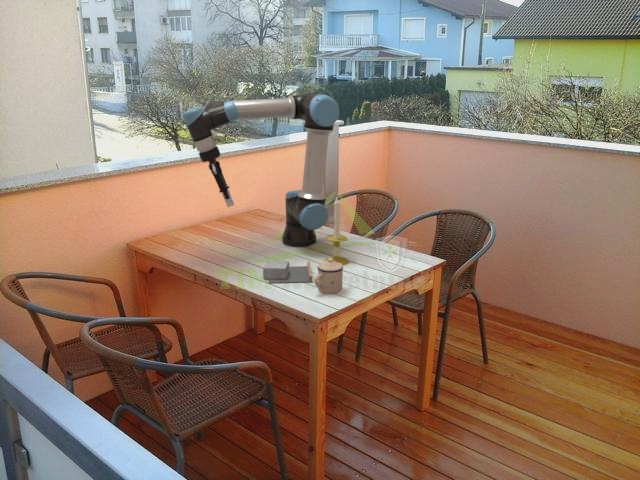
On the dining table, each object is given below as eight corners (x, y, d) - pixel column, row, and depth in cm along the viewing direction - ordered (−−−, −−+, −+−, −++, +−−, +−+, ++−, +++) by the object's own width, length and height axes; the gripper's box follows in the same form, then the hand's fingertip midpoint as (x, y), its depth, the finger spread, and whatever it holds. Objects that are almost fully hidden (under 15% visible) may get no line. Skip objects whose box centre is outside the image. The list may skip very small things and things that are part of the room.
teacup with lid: (329, 282, 217) (330, 252, 214) (348, 289, 211) (348, 258, 207) (306, 291, 209) (306, 260, 205) (324, 299, 203) (324, 267, 199)
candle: (344, 266, 233) (345, 200, 224) (320, 263, 236) (320, 198, 228) (351, 258, 242) (353, 194, 233) (328, 255, 245) (329, 192, 237)
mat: (309, 267, 232) (309, 261, 232) (312, 282, 217) (312, 276, 217) (269, 268, 231) (268, 262, 231) (268, 283, 216) (268, 277, 216)
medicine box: (263, 278, 220) (286, 279, 219) (262, 267, 218) (285, 268, 217) (267, 271, 227) (289, 272, 226) (266, 260, 226) (289, 261, 225)
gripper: (199, 149, 228) (222, 204, 236) (197, 155, 216) (221, 213, 224) (217, 142, 228) (240, 198, 236) (216, 148, 216) (240, 206, 224)
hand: (231, 205), depth 230 cm, fingers closed
